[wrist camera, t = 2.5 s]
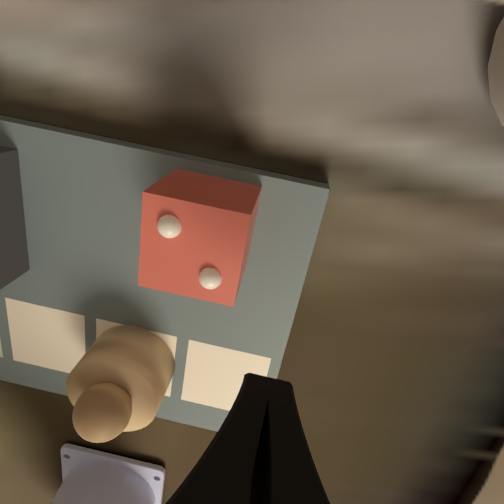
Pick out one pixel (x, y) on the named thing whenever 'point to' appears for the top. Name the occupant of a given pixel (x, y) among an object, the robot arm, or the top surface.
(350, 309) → the top surface
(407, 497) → the top surface
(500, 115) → the can
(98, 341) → the pawn
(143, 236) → the die
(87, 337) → the board
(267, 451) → the robot arm
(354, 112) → the top surface
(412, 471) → the top surface
